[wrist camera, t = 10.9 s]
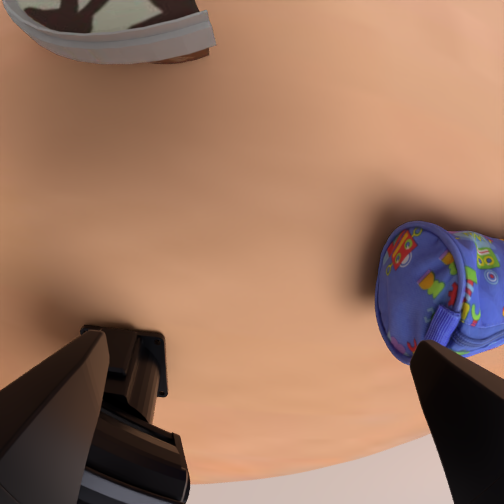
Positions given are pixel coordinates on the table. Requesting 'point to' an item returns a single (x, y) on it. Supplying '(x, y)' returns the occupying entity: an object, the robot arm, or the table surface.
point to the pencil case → (440, 290)
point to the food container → (116, 29)
